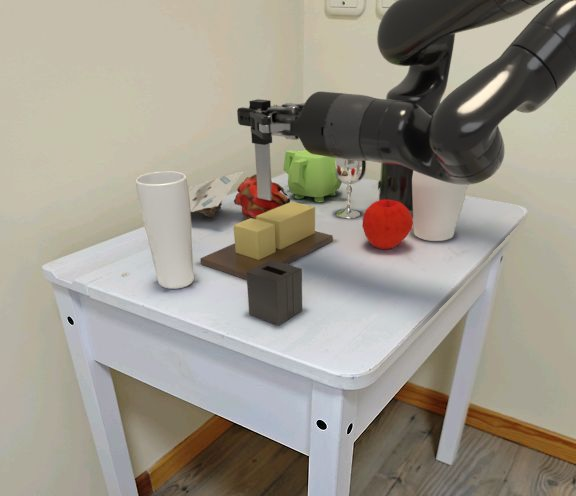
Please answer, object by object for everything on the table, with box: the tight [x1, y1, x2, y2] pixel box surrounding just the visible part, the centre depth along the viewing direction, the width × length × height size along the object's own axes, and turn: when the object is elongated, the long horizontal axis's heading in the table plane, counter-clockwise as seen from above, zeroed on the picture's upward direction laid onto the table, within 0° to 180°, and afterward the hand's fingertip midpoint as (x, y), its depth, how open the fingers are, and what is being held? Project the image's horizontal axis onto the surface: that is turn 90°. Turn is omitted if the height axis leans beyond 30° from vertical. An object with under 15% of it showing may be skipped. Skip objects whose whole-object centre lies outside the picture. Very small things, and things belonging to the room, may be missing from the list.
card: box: [188, 170, 245, 218], centre depth 105 cm, size 11×15×5 cm
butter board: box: [200, 230, 334, 281], centre depth 91 cm, size 20×11×1 cm, turn 140°
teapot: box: [283, 148, 343, 203], centre depth 113 cm, size 12×12×10 cm
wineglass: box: [334, 158, 367, 219], centre depth 102 cm, size 6×6×12 cm
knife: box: [248, 98, 273, 201], centre depth 82 cm, size 2×3×14 cm
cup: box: [412, 170, 469, 242], centre depth 92 cm, size 9×9×12 cm
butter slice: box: [233, 217, 276, 260], centre depth 87 cm, size 4×5×4 cm
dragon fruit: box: [233, 173, 291, 220], centre depth 101 cm, size 8×8×12 cm
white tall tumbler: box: [135, 170, 195, 290], centre depth 78 cm, size 7×7×15 cm
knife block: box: [246, 260, 303, 326], centre depth 72 cm, size 5×5×6 cm
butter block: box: [256, 201, 316, 250], centre depth 92 cm, size 9×5×4 cm, turn 141°
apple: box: [362, 199, 414, 250], centre depth 90 cm, size 8×8×7 cm
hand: (245, 114), depth 81 cm, fingers closed on knife, 2 cm apart
